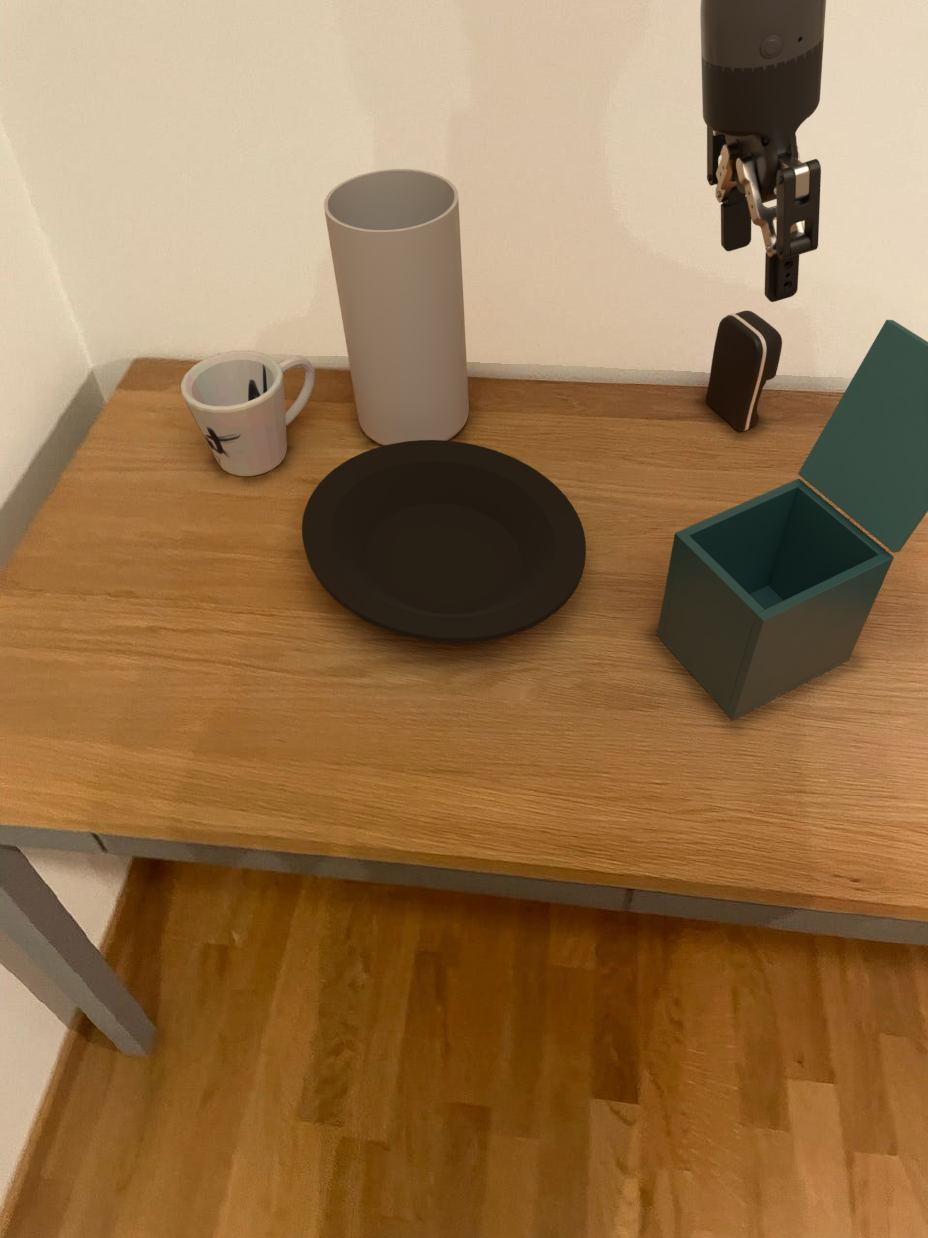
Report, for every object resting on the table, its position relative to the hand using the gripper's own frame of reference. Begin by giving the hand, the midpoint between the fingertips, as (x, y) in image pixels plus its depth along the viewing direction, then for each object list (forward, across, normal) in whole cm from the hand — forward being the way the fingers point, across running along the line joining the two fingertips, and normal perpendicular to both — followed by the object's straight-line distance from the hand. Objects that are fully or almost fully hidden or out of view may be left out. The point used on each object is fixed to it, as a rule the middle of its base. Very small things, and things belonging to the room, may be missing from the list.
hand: (757, 270), depth 71 cm
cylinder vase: (+21, +25, +29) cm, 44 cm away
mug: (+19, +24, +46) cm, 55 cm away
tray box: (+27, -14, +6) cm, 31 cm away
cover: (+9, -13, -5) cm, 16 cm away
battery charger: (+28, +18, -5) cm, 33 cm away
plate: (+22, +1, +30) cm, 38 cm away
